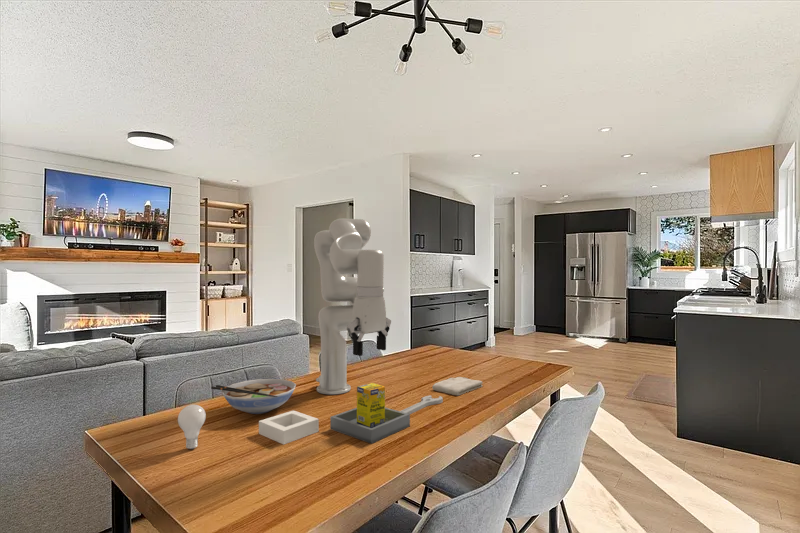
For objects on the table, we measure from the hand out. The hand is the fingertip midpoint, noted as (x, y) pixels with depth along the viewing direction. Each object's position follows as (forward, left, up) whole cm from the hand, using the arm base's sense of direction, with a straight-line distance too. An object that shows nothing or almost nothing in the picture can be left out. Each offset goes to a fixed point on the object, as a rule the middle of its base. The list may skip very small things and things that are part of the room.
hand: (369, 352), depth 122 cm
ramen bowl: (-38, -12, -22) cm, 45 cm away
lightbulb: (-25, -39, -22) cm, 51 cm away
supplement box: (0, 0, -21) cm, 21 cm away
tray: (0, 0, -21) cm, 21 cm away
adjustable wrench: (0, +22, -22) cm, 31 cm away
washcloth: (-2, +51, -22) cm, 55 cm away
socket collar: (-15, -17, -21) cm, 31 cm away
